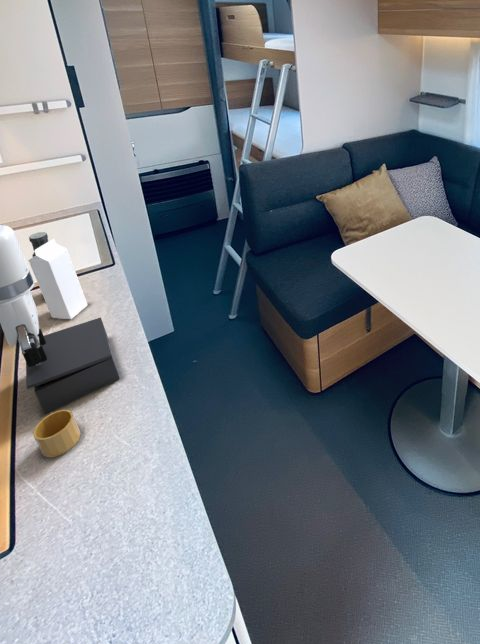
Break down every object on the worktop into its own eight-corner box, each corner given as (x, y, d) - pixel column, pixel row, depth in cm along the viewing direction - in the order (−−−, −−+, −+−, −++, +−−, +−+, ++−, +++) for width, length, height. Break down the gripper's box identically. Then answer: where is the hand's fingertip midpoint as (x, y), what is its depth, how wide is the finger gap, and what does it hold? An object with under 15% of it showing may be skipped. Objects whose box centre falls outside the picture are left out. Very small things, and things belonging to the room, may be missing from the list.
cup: (37, 462, 76) (27, 444, 74) (48, 433, 82) (40, 415, 80) (75, 450, 78) (67, 432, 76) (84, 422, 83) (76, 405, 82)
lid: (27, 389, 82) (21, 369, 80) (26, 344, 93) (20, 325, 92) (112, 357, 91) (108, 338, 89) (101, 319, 102) (97, 302, 100)
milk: (52, 318, 113) (22, 250, 104) (70, 303, 118) (43, 237, 110) (71, 319, 112) (43, 251, 103) (88, 305, 117) (63, 238, 109)
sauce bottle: (50, 302, 119) (27, 244, 111) (40, 296, 122) (16, 238, 114) (75, 290, 124) (54, 233, 116) (64, 284, 127) (43, 228, 119)
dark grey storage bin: (45, 414, 85) (34, 392, 83) (41, 367, 97) (32, 347, 94) (119, 378, 93) (112, 357, 91) (108, 339, 105) (101, 319, 102)
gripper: (-14, 272, 85) (15, 340, 92) (-20, 316, 73) (15, 390, 80) (31, 260, 90) (56, 325, 97) (33, 299, 77) (61, 370, 84)
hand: (37, 353), depth 88 cm, fingers closed on lid, 5 cm apart
